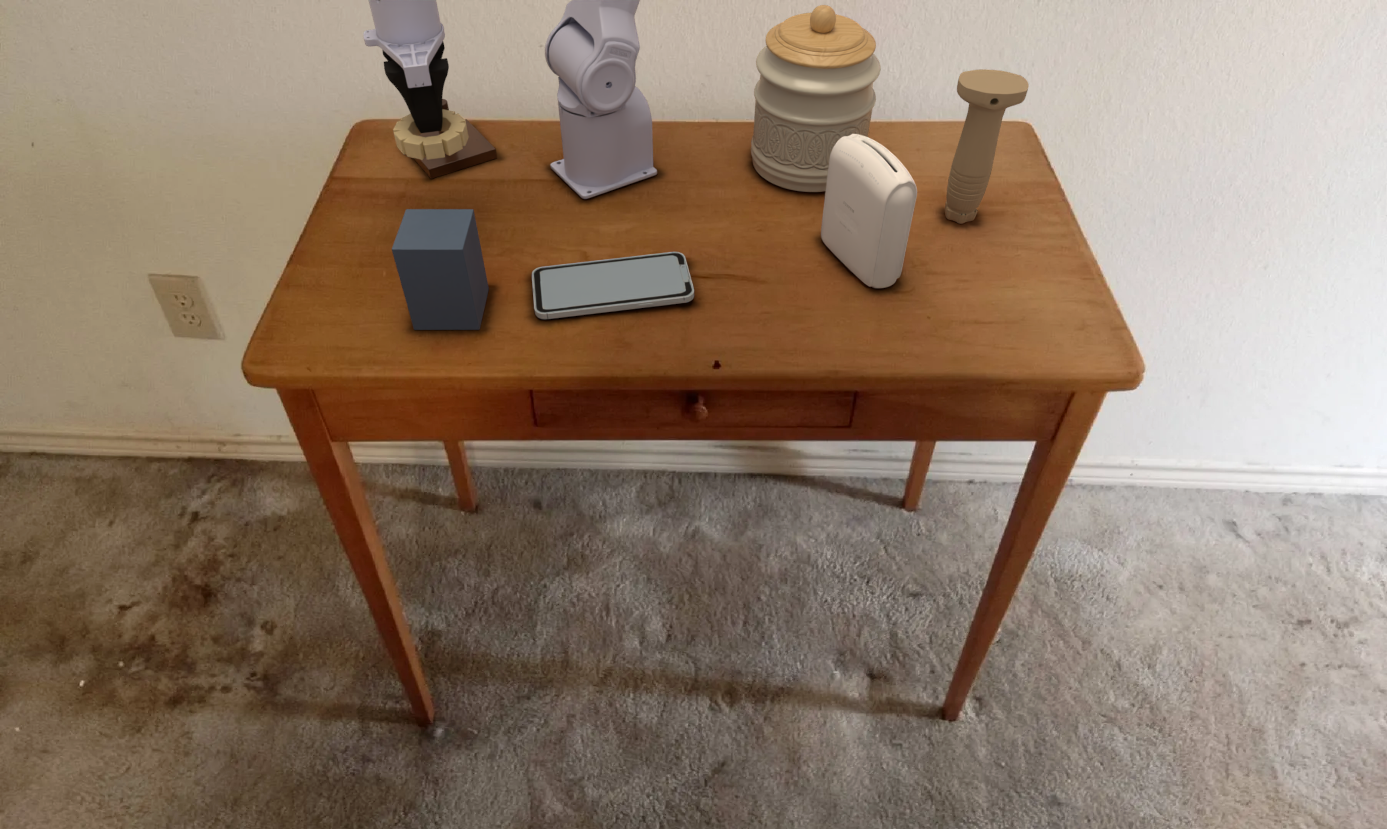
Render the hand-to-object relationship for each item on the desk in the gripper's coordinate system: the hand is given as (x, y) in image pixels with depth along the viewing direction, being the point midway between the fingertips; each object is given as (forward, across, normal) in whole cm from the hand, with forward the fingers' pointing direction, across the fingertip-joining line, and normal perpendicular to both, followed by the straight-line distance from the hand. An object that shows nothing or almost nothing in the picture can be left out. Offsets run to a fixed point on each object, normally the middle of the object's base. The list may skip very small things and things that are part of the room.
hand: (429, 123), depth 89 cm
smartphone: (+10, +17, +14) cm, 24 cm away
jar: (+11, +1, +40) cm, 41 cm away
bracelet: (0, +2, 0) cm, 2 cm away
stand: (+10, -12, +1) cm, 16 cm away
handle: (+11, +15, +52) cm, 55 cm away
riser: (+10, +16, -1) cm, 19 cm away
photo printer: (+11, +19, +38) cm, 44 cm away
